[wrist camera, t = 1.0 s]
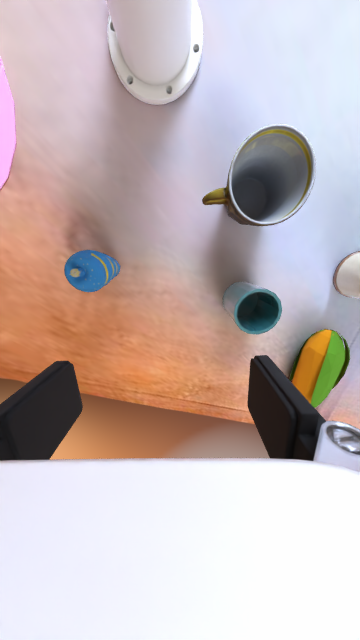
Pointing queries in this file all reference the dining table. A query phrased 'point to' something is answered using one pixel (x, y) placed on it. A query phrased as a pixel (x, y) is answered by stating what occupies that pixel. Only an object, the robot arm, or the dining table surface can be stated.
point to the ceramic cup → (268, 177)
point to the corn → (320, 365)
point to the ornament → (90, 270)
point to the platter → (6, 127)
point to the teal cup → (252, 307)
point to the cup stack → (348, 276)
